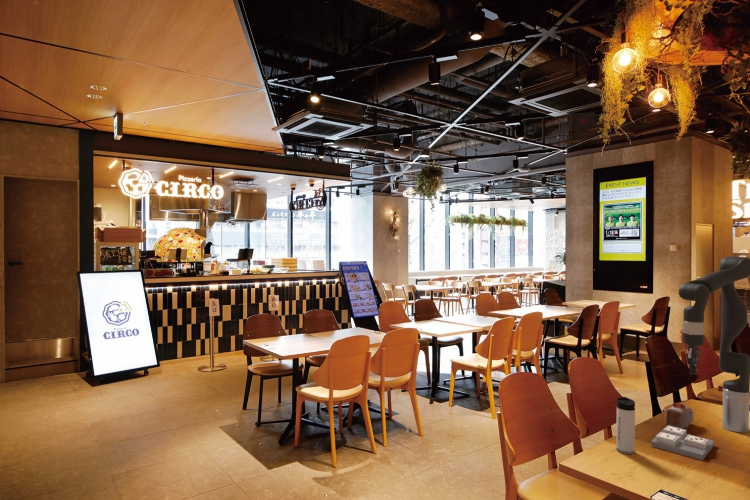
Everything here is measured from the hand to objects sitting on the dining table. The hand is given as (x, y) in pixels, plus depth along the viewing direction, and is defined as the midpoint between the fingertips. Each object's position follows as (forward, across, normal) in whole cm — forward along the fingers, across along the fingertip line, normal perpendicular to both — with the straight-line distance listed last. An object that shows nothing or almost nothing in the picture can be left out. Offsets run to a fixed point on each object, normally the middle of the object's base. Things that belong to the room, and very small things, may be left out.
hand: (692, 374), depth 192 cm
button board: (+27, +10, -1) cm, 29 cm away
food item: (+27, -14, -8) cm, 32 cm away
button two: (+25, +5, -5) cm, 26 cm away
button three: (+25, +10, +4) cm, 27 cm away
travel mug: (+27, +32, -15) cm, 45 cm away
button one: (+25, +15, -5) cm, 29 cm away
